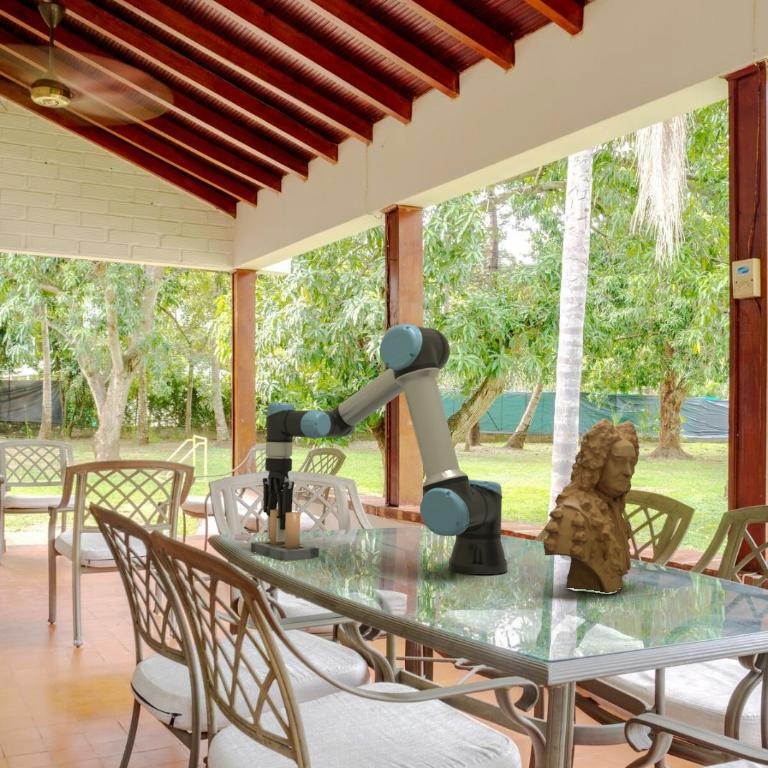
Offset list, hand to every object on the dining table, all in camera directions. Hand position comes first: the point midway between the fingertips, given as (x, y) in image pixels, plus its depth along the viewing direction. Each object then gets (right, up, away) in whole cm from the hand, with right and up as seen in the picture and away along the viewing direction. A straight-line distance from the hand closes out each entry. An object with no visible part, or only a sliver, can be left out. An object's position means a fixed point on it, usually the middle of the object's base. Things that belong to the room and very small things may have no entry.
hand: (276, 539), depth 244 cm
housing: (+3, -3, -3) cm, 5 cm away
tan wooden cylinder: (+5, -3, -6) cm, 9 cm away
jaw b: (0, -4, 0) cm, 4 cm away
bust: (+80, -4, -42) cm, 90 cm away
